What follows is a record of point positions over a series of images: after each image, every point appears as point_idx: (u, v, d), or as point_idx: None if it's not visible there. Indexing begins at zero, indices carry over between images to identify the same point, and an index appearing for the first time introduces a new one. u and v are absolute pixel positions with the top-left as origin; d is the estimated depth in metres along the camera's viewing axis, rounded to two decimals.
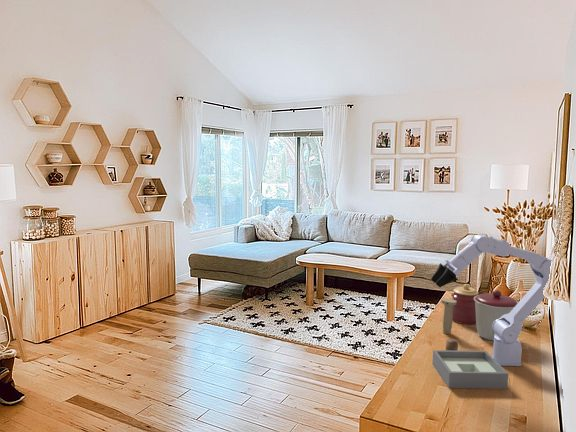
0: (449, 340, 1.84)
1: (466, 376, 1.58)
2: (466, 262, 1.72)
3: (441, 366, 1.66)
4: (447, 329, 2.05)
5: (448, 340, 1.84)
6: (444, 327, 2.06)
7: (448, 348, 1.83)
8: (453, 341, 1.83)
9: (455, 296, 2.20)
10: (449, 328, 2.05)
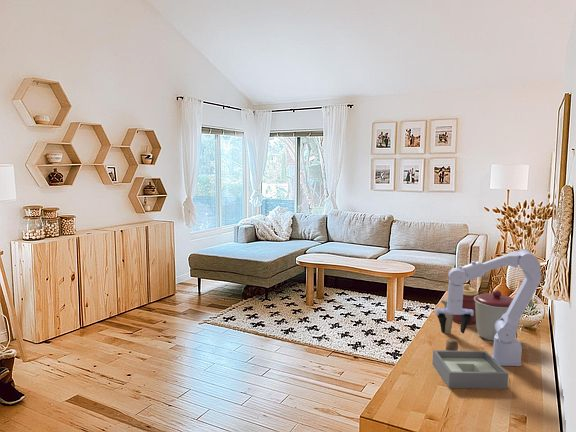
0: (449, 340, 1.84)
1: (466, 376, 1.58)
2: (449, 299, 1.80)
3: (441, 366, 1.66)
4: (447, 329, 2.05)
5: (448, 340, 1.84)
6: None
7: (448, 348, 1.83)
8: (453, 341, 1.83)
9: None
10: (449, 328, 2.05)
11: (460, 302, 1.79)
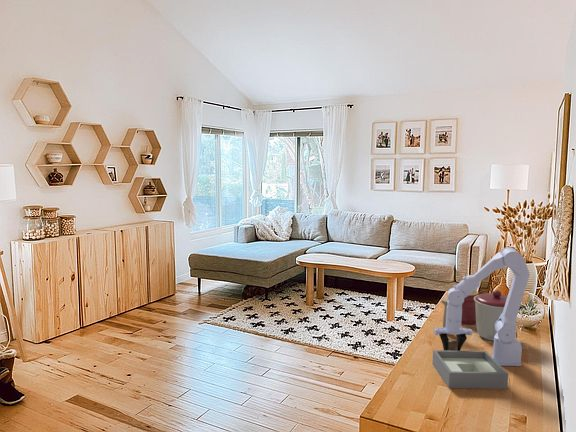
0: (449, 340, 1.84)
1: (466, 376, 1.58)
2: (447, 319, 1.81)
3: (441, 366, 1.66)
4: None
5: (448, 340, 1.84)
6: None
7: (448, 348, 1.83)
8: (453, 341, 1.83)
9: None
10: None
11: (459, 322, 1.80)
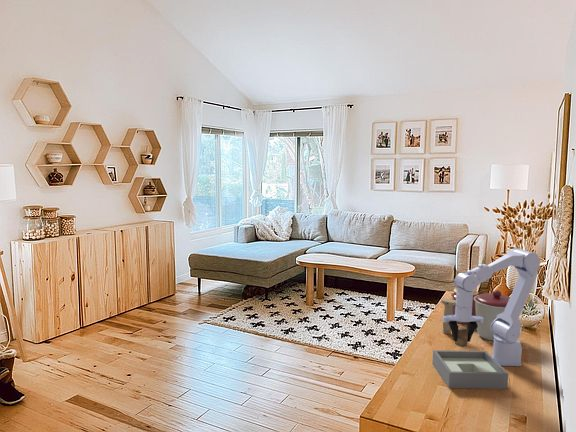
0: (459, 328, 1.74)
1: (466, 376, 1.58)
2: (457, 306, 1.71)
3: (441, 366, 1.66)
4: (447, 329, 2.05)
5: None
6: (444, 327, 2.06)
7: (458, 336, 1.73)
8: (463, 329, 1.73)
9: (455, 296, 2.20)
10: (449, 328, 2.05)
11: (469, 309, 1.70)
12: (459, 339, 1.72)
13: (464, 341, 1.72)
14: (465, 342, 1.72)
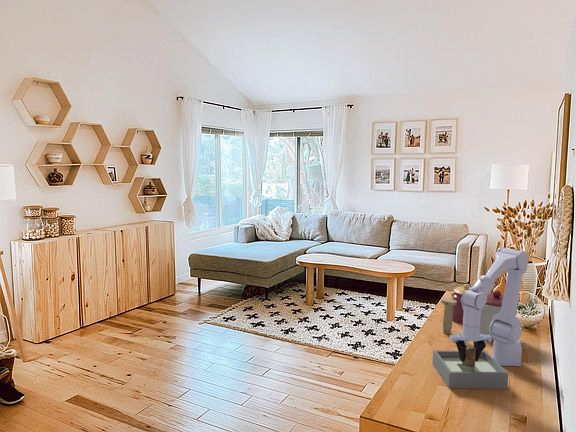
0: None
1: (466, 376, 1.58)
2: (465, 325, 1.64)
3: (441, 366, 1.66)
4: (447, 329, 2.05)
5: None
6: (444, 327, 2.06)
7: (465, 356, 1.65)
8: (470, 348, 1.66)
9: (455, 296, 2.20)
10: (449, 328, 2.05)
11: (478, 328, 1.63)
12: (467, 359, 1.65)
13: (472, 361, 1.65)
14: (473, 362, 1.65)
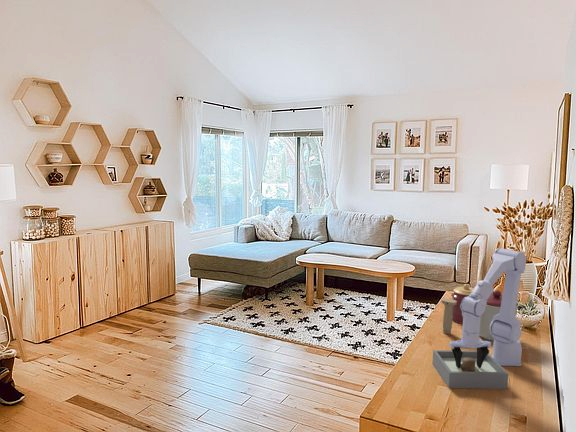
0: (465, 359, 1.67)
1: (466, 376, 1.58)
2: (464, 331, 1.64)
3: (441, 366, 1.66)
4: (447, 329, 2.05)
5: (464, 359, 1.67)
6: (444, 327, 2.06)
7: (465, 368, 1.66)
8: (470, 360, 1.66)
9: (455, 296, 2.20)
10: (449, 328, 2.05)
11: (477, 334, 1.63)
12: (466, 371, 1.66)
13: None
14: None
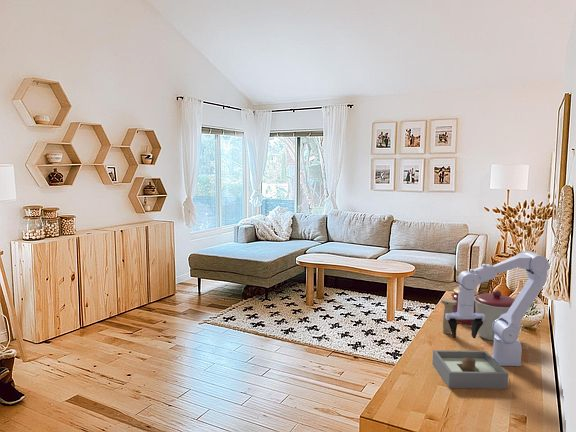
0: (465, 359, 1.67)
1: (466, 376, 1.58)
2: (459, 304, 1.76)
3: (441, 366, 1.66)
4: (447, 329, 2.05)
5: (464, 359, 1.67)
6: (444, 327, 2.06)
7: (465, 368, 1.66)
8: (470, 360, 1.66)
9: (455, 296, 2.20)
10: (449, 328, 2.05)
11: (471, 306, 1.74)
12: (466, 371, 1.66)
13: None
14: None
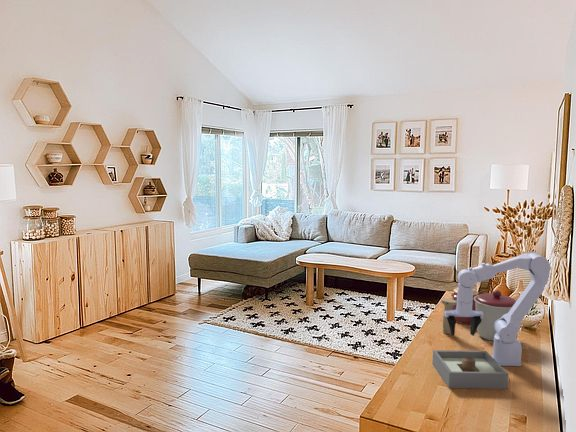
0: (465, 359, 1.67)
1: (466, 376, 1.58)
2: (458, 301, 1.78)
3: (441, 366, 1.66)
4: (447, 329, 2.05)
5: (464, 359, 1.67)
6: (444, 327, 2.06)
7: (465, 368, 1.66)
8: (470, 360, 1.66)
9: (455, 296, 2.20)
10: (449, 328, 2.05)
11: (470, 304, 1.77)
12: (466, 371, 1.66)
13: None
14: None
